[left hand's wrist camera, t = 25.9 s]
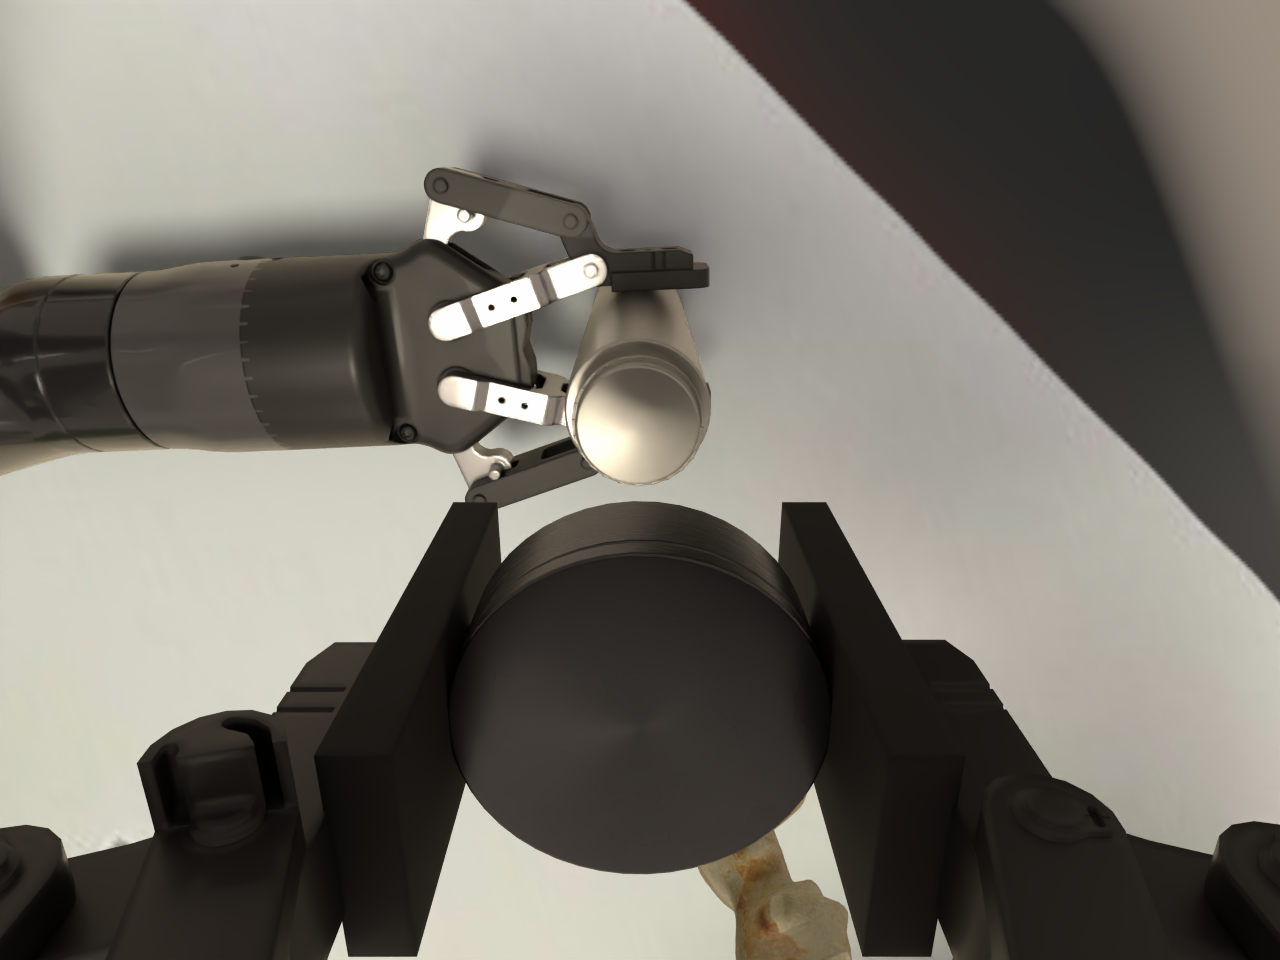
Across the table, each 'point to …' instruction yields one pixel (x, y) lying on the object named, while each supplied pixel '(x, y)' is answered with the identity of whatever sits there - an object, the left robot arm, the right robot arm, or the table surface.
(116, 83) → the table surface
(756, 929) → the sculpture
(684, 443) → the cylinder
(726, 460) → the table surface
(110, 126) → the table surface
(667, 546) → the lid
